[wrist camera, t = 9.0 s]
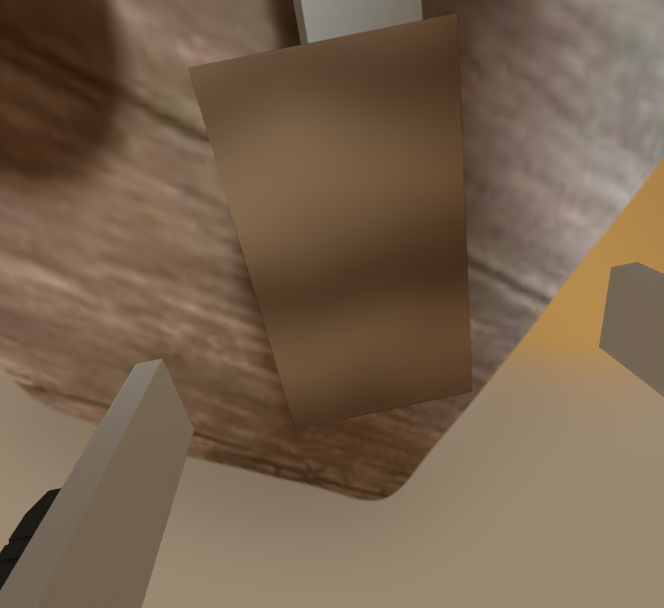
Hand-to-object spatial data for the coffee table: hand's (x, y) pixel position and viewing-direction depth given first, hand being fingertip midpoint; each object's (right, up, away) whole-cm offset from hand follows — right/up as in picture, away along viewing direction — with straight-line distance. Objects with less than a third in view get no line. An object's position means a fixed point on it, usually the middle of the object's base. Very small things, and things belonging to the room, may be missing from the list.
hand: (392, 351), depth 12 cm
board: (-1, +4, +5) cm, 6 cm away
